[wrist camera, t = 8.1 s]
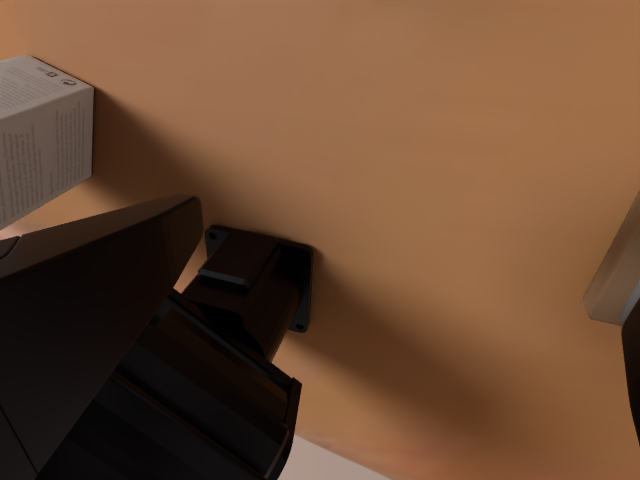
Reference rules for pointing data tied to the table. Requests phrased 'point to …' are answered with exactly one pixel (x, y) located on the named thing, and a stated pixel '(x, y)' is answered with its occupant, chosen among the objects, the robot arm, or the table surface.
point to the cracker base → (618, 274)
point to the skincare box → (41, 135)
